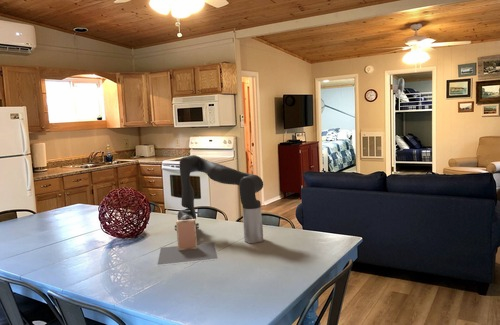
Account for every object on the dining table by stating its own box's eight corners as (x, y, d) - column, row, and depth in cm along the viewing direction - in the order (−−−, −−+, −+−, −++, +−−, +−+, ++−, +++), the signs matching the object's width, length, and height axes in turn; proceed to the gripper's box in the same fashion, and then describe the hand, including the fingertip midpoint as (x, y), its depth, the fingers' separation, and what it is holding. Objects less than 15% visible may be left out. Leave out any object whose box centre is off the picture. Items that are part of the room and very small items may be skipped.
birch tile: (197, 247, 194) (195, 218, 192) (197, 248, 192) (195, 219, 190) (178, 249, 192) (176, 220, 191) (178, 250, 190) (176, 221, 189)
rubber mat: (214, 244, 200) (213, 242, 200) (217, 260, 176) (217, 258, 176) (161, 249, 196) (160, 247, 196) (157, 266, 172) (157, 264, 172)
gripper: (173, 217, 214) (172, 225, 197) (198, 214, 216) (199, 222, 199) (174, 230, 215) (173, 239, 198) (199, 228, 217) (200, 237, 200)
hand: (186, 231), depth 198 cm, fingers closed
